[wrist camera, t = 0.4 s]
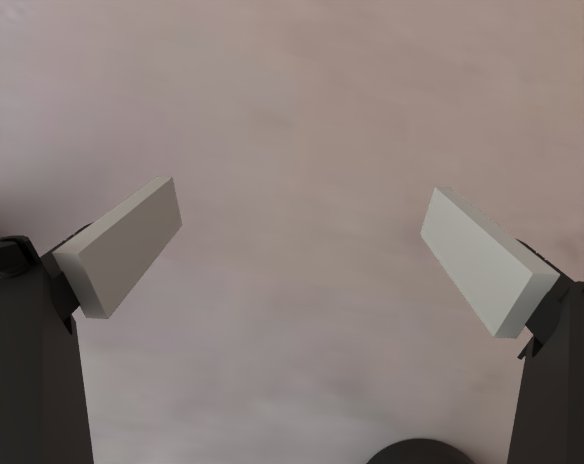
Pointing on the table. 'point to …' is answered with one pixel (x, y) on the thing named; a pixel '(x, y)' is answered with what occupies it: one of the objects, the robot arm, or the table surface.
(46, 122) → the table surface
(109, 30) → the table surface
